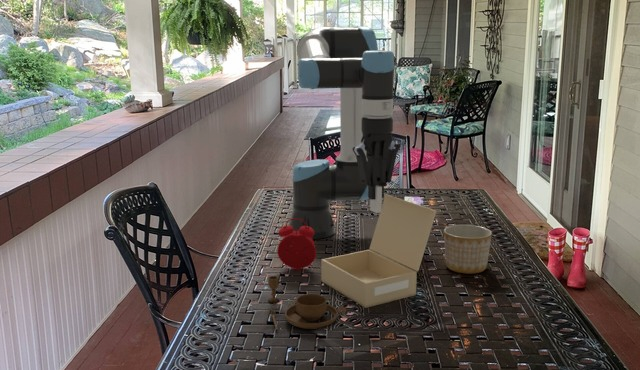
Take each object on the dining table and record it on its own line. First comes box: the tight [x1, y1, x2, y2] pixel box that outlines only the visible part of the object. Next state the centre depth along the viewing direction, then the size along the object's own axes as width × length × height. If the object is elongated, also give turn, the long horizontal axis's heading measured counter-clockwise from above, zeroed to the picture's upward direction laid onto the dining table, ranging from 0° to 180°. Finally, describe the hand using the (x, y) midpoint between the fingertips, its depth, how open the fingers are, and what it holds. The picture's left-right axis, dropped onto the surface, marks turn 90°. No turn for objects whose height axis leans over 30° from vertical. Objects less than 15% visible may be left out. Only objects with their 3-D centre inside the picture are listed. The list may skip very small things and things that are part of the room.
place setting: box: [267, 275, 348, 330], centre depth 148 cm, size 18×20×6 cm
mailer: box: [320, 249, 418, 309], centre depth 161 cm, size 20×15×6 cm
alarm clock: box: [277, 219, 317, 271], centre depth 173 cm, size 10×6×15 cm, turn 84°
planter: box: [443, 224, 493, 275], centre depth 175 cm, size 13×13×10 cm
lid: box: [368, 193, 437, 272], centre depth 164 cm, size 20×15×2 cm
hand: (375, 211), depth 159 cm, fingers closed
